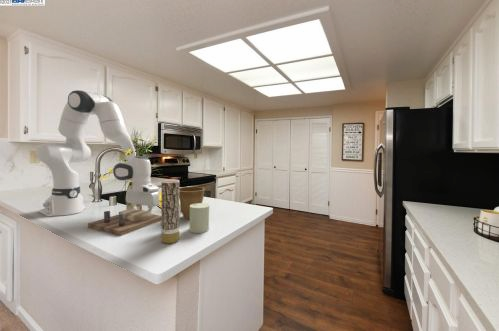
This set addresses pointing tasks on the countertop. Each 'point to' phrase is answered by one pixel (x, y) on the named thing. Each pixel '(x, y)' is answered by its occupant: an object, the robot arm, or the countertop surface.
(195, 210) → the can
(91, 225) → the board
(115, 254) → the countertop surface
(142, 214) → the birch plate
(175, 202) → the grey patterned cylinder
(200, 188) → the plant pot
